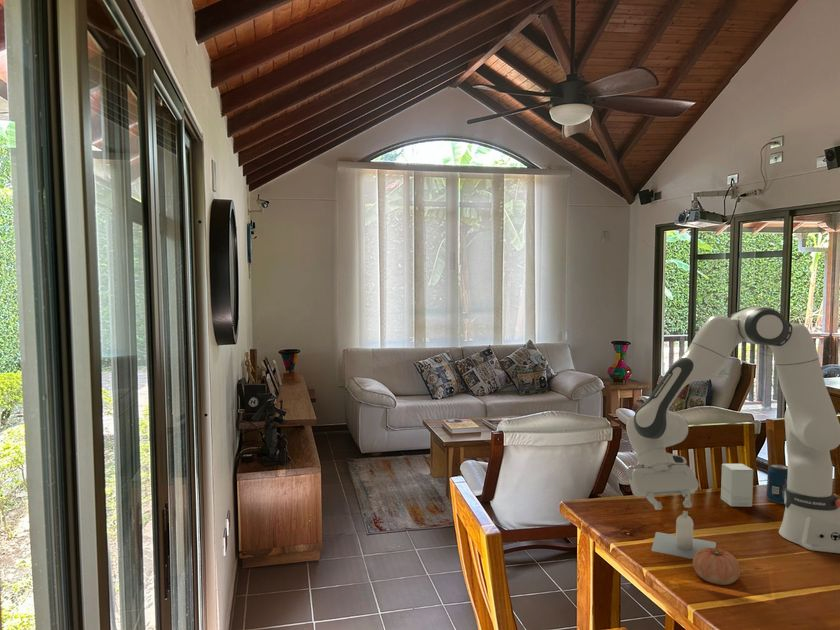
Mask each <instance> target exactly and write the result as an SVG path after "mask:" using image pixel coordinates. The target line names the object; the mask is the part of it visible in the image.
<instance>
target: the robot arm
mask: <svg viewBox="0 0 840 630" xmlns="http://www.w3.org/2000/svg"><path fill="white" fill-rule="evenodd" d="M742 343H747V344H751V345H761V346H768V347H769V349H770V350H771V352H772V355H773V360H774V365H775V368H776V369H775V370H776V373H777V378H778V382H779V385H780V390H781V392H782V395H783V397H784V400H785V402H786V405H787V409H786V410H785V412H784V416H783V417H784V427H785V443H786V444H785V445H786V453H787V466H788V476H787V486H786V487H785V495H784V503H783V504H784V506H785V507H784V508H785V509H784V512H783V518H782V522H781V525H780V528H779V530H778V533H779V535H780V536H781V537H782V538H784V540H788V541H789V542H792V543H794V544H797V545H799V546H801V547H803V548H804V549H806V550H810V551H816V552H822V553H823V552H824V553H835V554H840V497H839V496H838V495H837V494H836V493H833V477H834V466H833V463H832V458H831V453H830V452H831V451H833V450H835V449H836V448H838V447H839V446H840V421H839V418H838V415H837V413H836V410H835V407H834V404H833V402H832V399H831V396H830V393H829V392H828V388H827V385H826V382H825V378H824V374H823V370H822V366H821V361H820V358H819V357H820V356H819V354H818V350H817V348H816V345H815V341H814V340H813V336H812V335H811V333H810V330H809V329H808V327H806V326H805V324H801V323H799V322H789V321H788V320H787V319H786V317H785V316H784V315H783V314H782V313H781V312H779V310H776V309H774V308H772V307H771V308H770V307H764V306H751V307H744V308H740V309H738V310H737V311H735V312H734V313H732V314H731V315H729V316H726V315H721V314H719V315H712V316H710V317H709V318H707V319H706V321H705V322H704V323H703V324H702V326H701V327H700V328H699V330H698V331H697V333H695V336H694V337H693V338H692V341H691V343H690V344H689V346H688V348H687V350H686V351H685V352H684V353H683V354H682V356H681V357H680V358H679V359H677V360H676V361H674V362H673V363H672V365H671V366H670V367H669V368H668V370H667V371H666V373H665V374H664V375H663V376H662V378H661V380H660V381H659V383H658V384H657V385H656V387H655V388H654V390H653V391H652V393H651V394H650V396H648V398H647V399H646V400H645V401H644V402H643V403H642V404H641V405H640V406H639V407H637V409H636V410H635V413H634V414H633V415H632V416H630V417H629V418H628V419H627V421H626V428H625V429H626V434H627V437H628V440H629V442H630V445H631V447H632V449H633V450H634V452H635V454H636V460H637V462H638V465H636V464H635V465H628V467H627V468H626V469H625V473H626V476H627V478H628V479H629V480H628V481H629V485H630V489H631V492H632V495H633V496H635V497H636V498H642V497H645V498H646V500H647V501H649V503H650V504H651V505H653V507H654V510H655V511H659V510H662V509H663V505H662V503H661V501H658V500H657V499H656V498H655V496H656V497H657V496H665V495H666V496H671V495H682V497H683V498H684V500H683V501H682V505H683V507H684V508H685V509H686V508H688V509H689V508H691V507H692V505H693V504H692V501H691V495H692V494H693V493H695V492H696V491H698V489H699V486H700V485H699V481H698V479H697V478H696V476H695V473H694V472H693V470H692V469H691V468H690V466H689V465H687V463H688V462H687V459H686V458H685V457H684V456H681V455H677V454H673V453H671V452H667V451H666V448H669V447H673V446H676V445H678V444H681V443H682V442H684V441H685V440H686V439H687V437H688V435H689V431H690V429H689V428H690V427H689V422H688V421H687V418H685V417H684V416H683V415H681V414H679V413H676V411H675V412H674V411H671V410H670V408H671V406H672V405H673V403H674V401H675V400H676V399H677V398H678V396H679V395H680V393H681V392H682V390H683V389H684V388H685V387H686V386H687V385H689V384H691V383H694V382H698V381H706V380H707V381H708V380H711V379H713V378H716V377H717V376H718V375H719V374H720V373H721V371H722V370H724V368H725V366H726V364H727V362H728V361H729V358H730V357H731V355H732V353H733V351H734V350H735V349H736V347H737V346H738V345H740V344H742Z"/></svg>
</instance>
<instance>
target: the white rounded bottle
mask: <svg viewBox="0 0 840 630" xmlns="http://www.w3.org/2000/svg"><path fill="white" fill-rule="evenodd" d="M675 521H676V522H675V535H676V547H678V548H680V549H683V550H691V549H693V538H694V520H693V519H692V517H691V516H689V515H688V510H682V514H680V515H678V516H677V518H676V520H675Z"/></svg>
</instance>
